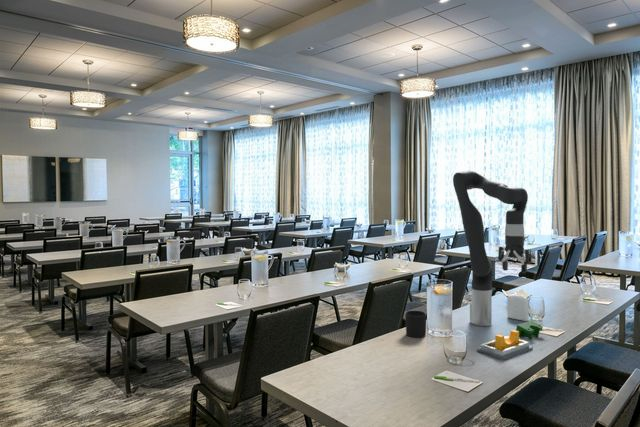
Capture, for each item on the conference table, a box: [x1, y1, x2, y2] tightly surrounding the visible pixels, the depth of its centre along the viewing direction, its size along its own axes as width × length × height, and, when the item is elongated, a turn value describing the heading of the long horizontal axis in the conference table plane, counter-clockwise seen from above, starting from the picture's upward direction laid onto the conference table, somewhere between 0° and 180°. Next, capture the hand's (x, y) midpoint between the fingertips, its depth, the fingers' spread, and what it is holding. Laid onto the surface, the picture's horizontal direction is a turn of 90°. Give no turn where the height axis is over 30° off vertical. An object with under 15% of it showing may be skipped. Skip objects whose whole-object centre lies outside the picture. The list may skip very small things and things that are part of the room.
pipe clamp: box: [494, 329, 520, 350], centre depth 186 cm, size 12×4×6 cm, turn 123°
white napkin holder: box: [506, 294, 530, 322], centre depth 230 cm, size 10×4×12 cm, turn 39°
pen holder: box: [404, 310, 427, 339], centre depth 208 cm, size 9×9×10 cm
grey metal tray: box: [476, 335, 534, 361], centre depth 186 cm, size 12×20×3 cm, turn 124°
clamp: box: [515, 320, 543, 340], centre depth 203 cm, size 12×6×9 cm, turn 117°
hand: (514, 271), depth 197 cm, fingers open, 8 cm apart
